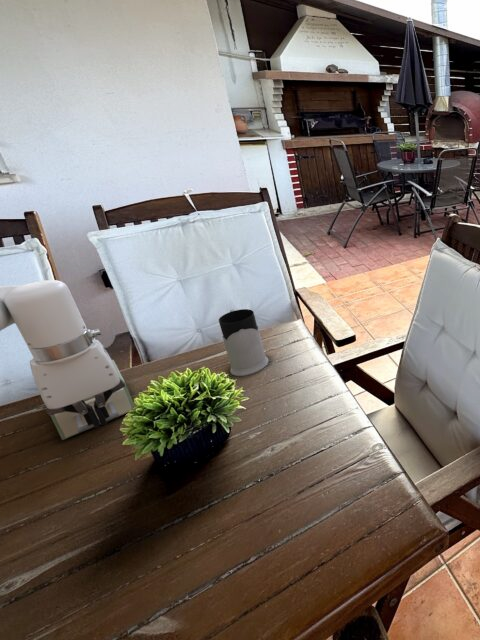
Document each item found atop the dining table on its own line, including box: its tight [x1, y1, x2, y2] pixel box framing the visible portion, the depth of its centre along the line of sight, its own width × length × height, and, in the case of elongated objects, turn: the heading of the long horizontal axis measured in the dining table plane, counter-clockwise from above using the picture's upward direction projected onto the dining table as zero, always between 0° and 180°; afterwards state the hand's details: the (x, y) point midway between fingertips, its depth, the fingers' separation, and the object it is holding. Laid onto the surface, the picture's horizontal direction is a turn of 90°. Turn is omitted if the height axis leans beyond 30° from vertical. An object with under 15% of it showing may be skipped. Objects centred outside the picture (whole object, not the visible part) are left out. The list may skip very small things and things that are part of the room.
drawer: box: [54, 388, 132, 438], centre depth 87 cm, size 19×10×6 cm, turn 51°
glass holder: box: [218, 308, 269, 377], centre depth 106 cm, size 9×14×15 cm, turn 42°
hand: (100, 423), depth 80 cm, fingers closed
